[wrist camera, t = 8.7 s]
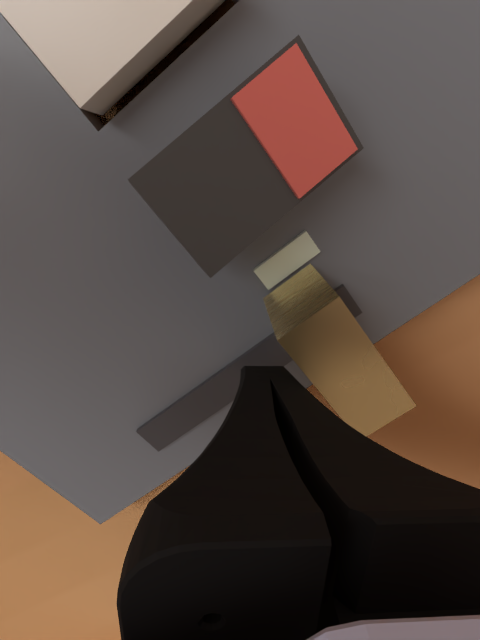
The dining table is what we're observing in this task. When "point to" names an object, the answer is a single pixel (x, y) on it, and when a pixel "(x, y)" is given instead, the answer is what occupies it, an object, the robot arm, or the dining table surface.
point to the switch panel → (247, 267)
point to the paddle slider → (335, 352)
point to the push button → (103, 40)
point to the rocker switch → (249, 159)
